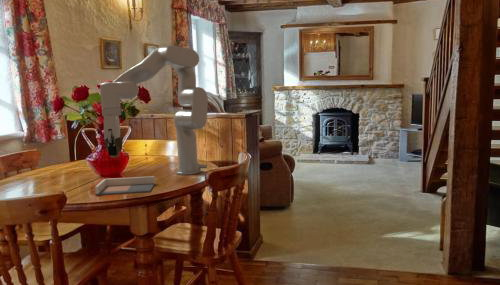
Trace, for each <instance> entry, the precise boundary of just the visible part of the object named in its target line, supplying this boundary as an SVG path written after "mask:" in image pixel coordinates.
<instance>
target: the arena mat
mask: <svg viewBox="0 0 500 285" xmlns="http://www.w3.org/2000/svg"><path fill="white" fill-rule="evenodd" d="M155 184H156V183H152V184H134V185H117V186H106V187H105V188H104V189H103V190H102V191H101V192H100V193H99V194H96V193H95V196H105V195H121V194H122V195H123V194H125V195H126V194H142V193H151V191H152V190H153V188H154V186H155Z"/></svg>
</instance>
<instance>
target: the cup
mask: <svg viewBox="0 0 500 285" xmlns="http://www.w3.org/2000/svg"><path fill="white" fill-rule="evenodd" d="M103 139H104V138H103ZM123 140H124V138H123V137H121V136H120V137H119V139H118V140H117V139H115V146H116V150H117V155H116V156H110V158H119V156H120V154H121V152H122V149H123V143H124V142H123ZM104 145H105V149H106V151H107V153H108V154H109V152H108V139H107V140H105V139H104Z"/></svg>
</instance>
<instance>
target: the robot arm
mask: <svg viewBox="0 0 500 285" xmlns="http://www.w3.org/2000/svg"><path fill="white" fill-rule="evenodd" d="M199 62H200V57H199V54H198V52H197V51H196V50H194V49H191V48H188V47H182V46H178V45H165V46H164V45H163V46H162V45H161V46H158V47H156V48H154V49H153V50H152V51H151V52H150V53H149V54H148V55H147V56H146V57H145V58H144V59H143V60H141V62H139V63H138V64H136V65H135V66H133V67H131V68H129V69H128V70H126V71H125V72H123V73H121V74H120V75H119V76H118V77H116V79H114V80H113V82H111V81H109V82H102V83H101V84H100V85H99V90H100V91H99V92H100V104H101V115H102V117H103V139H105V140H107V139H108V151H107V153H108V152H109V153H108V156H109V157H111V156H116V155H117V150H116V146H115V139H117V140H118V139H119V138H121V124H120V116H122V110H121V100H132V99H134V98H136V97H137V96H138V94H139V92H140V90H139V86H138V84H141V83H144V82H147V81H149V80H151V79H153V78H154V77H155V76H156V75H157V74H158V73H159V72H161V71H162V69H164V68H165V67H166V66H168V65H170V66H171V68H172V69H173V70H174V71H175V74H177V77H178V78H177V79H178V82H177V86H178V87H177V102H178V104H179V105H180V106H182V107H184V108H191V109H180V110H178V111H176V112H175V114H174V116H173V124H174V128H175V133H176V143H177V144H176V145H177V161H178V165H177V166H178V169H176V170H175V174H177V175H181V176H185V175H187V176H188V175H197V174H199V173H201V172H202V169H207V168H208V167H207V166H208V165H207V163H206V164H205V163H203V164H200V163H199V161H198V149H197V135H196V133H195V130H201V129H203V128H205V126H206V124H207V122H208V121H207V120H208V106H209V105H208V104H209V100H208V98H209V97H208V94H207V91H206V90H205V88H203V87H200V86H196V84H197V83H196V82H197V80H196V74H195V72H194V70H193V68H195V67H197V66H198V64H199ZM105 140H104V141H105Z"/></svg>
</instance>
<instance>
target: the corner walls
mask: <svg viewBox="0 0 500 285" xmlns="http://www.w3.org/2000/svg"><path fill="white" fill-rule="evenodd" d="M152 183H155V176H154V175H152V176H151V175H150V176H137V177H136V176H135V177H134V176H133V177H116V178H115V177H114V178H103V179H102V180H101V181H99V183H97V184H96V185H95V186H94V191H95V195H96V194H99V193H100V192H101V191H102V190H103V189H104V188H105V187H106V186H117V185H134V184H152ZM155 184H156V183H155Z"/></svg>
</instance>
